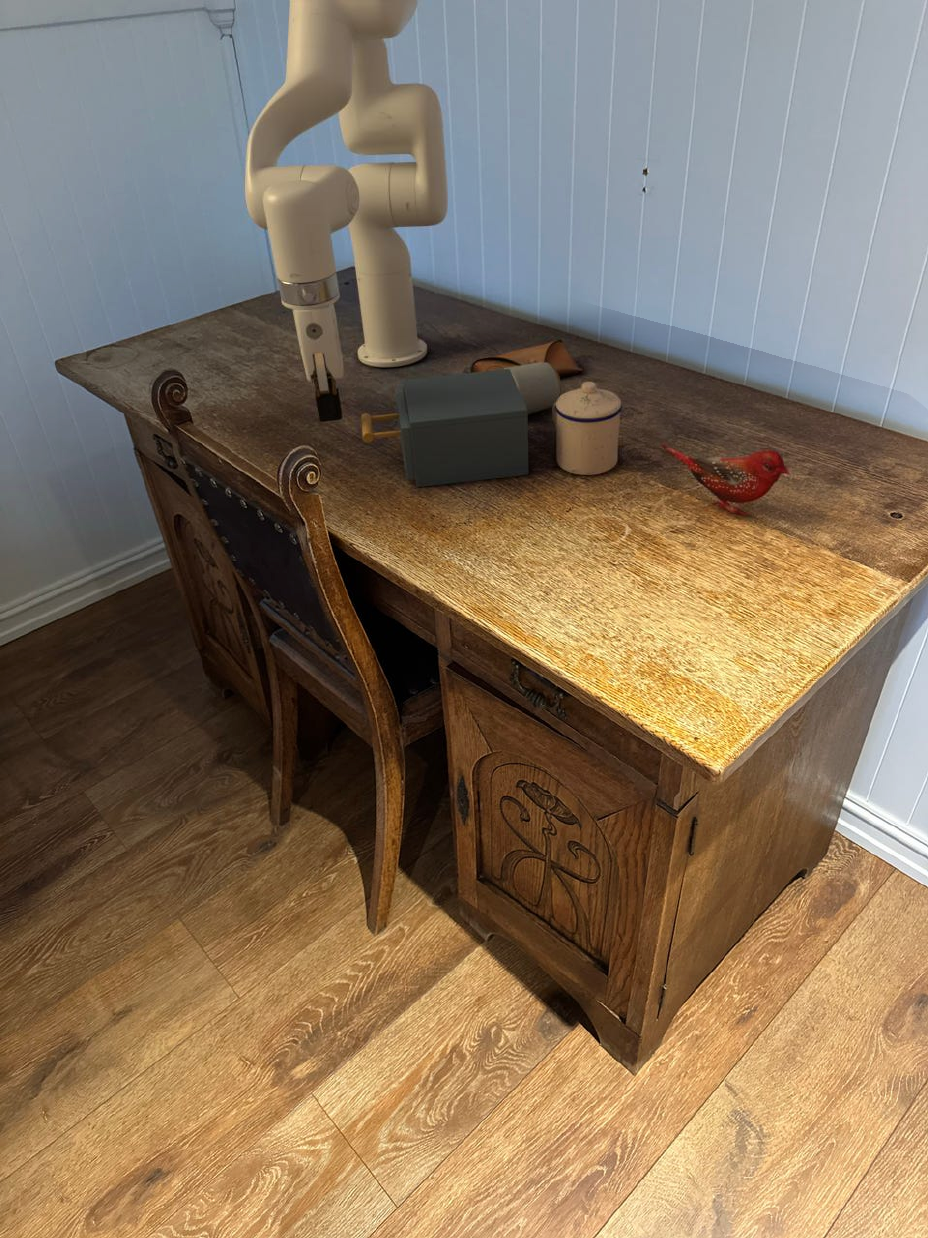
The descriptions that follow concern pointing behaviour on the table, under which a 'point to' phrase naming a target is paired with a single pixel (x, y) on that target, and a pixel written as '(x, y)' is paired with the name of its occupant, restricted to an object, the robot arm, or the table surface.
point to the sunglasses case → (531, 359)
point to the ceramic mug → (537, 385)
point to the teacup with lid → (587, 430)
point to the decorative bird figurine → (735, 475)
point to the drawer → (402, 432)
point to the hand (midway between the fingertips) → (331, 417)
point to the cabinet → (467, 427)
